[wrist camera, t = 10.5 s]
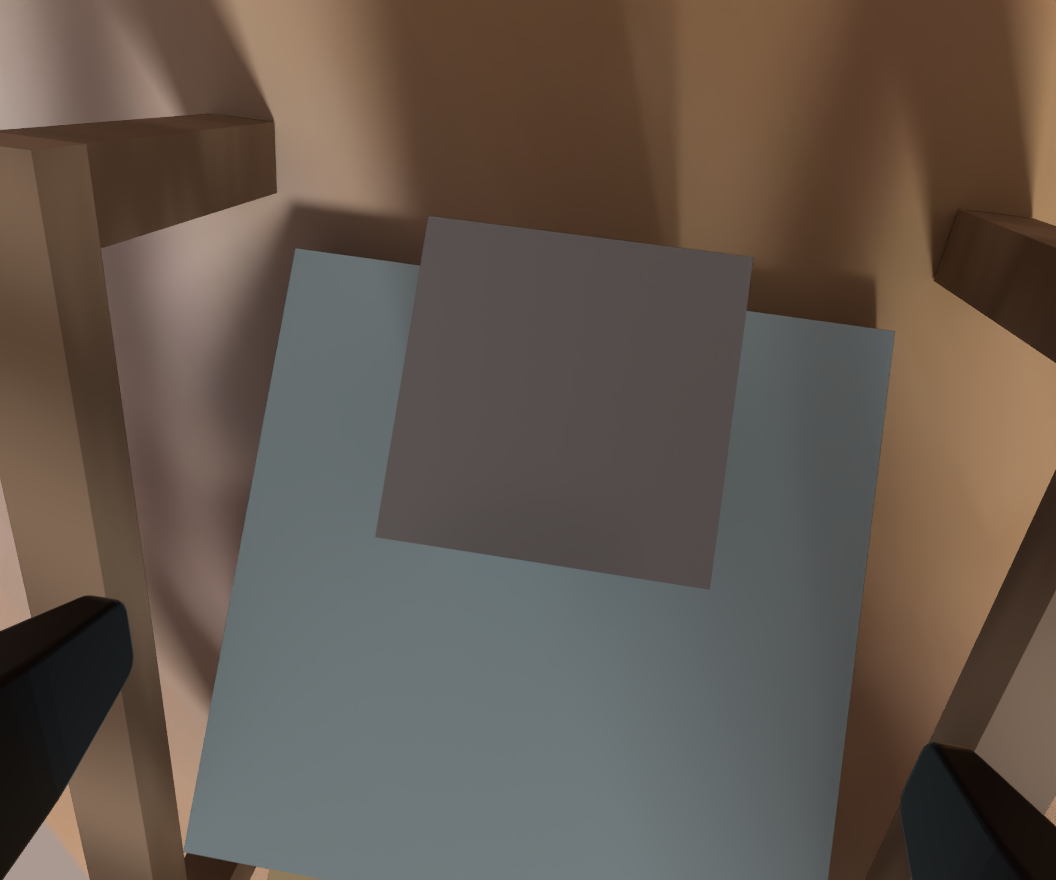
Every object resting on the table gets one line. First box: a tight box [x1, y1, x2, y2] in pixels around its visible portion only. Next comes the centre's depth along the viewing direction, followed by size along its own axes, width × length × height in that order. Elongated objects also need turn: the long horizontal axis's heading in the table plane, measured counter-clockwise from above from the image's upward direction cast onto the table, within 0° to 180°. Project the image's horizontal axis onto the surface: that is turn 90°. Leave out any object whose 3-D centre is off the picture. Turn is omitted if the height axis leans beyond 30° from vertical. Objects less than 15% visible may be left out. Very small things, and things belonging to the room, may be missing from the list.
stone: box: [375, 216, 754, 590], centre depth 14 cm, size 5×5×6 cm
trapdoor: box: [183, 248, 895, 880], centre depth 20 cm, size 20×14×6 cm
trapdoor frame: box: [0, 114, 1056, 880], centre depth 19 cm, size 22×19×8 cm
